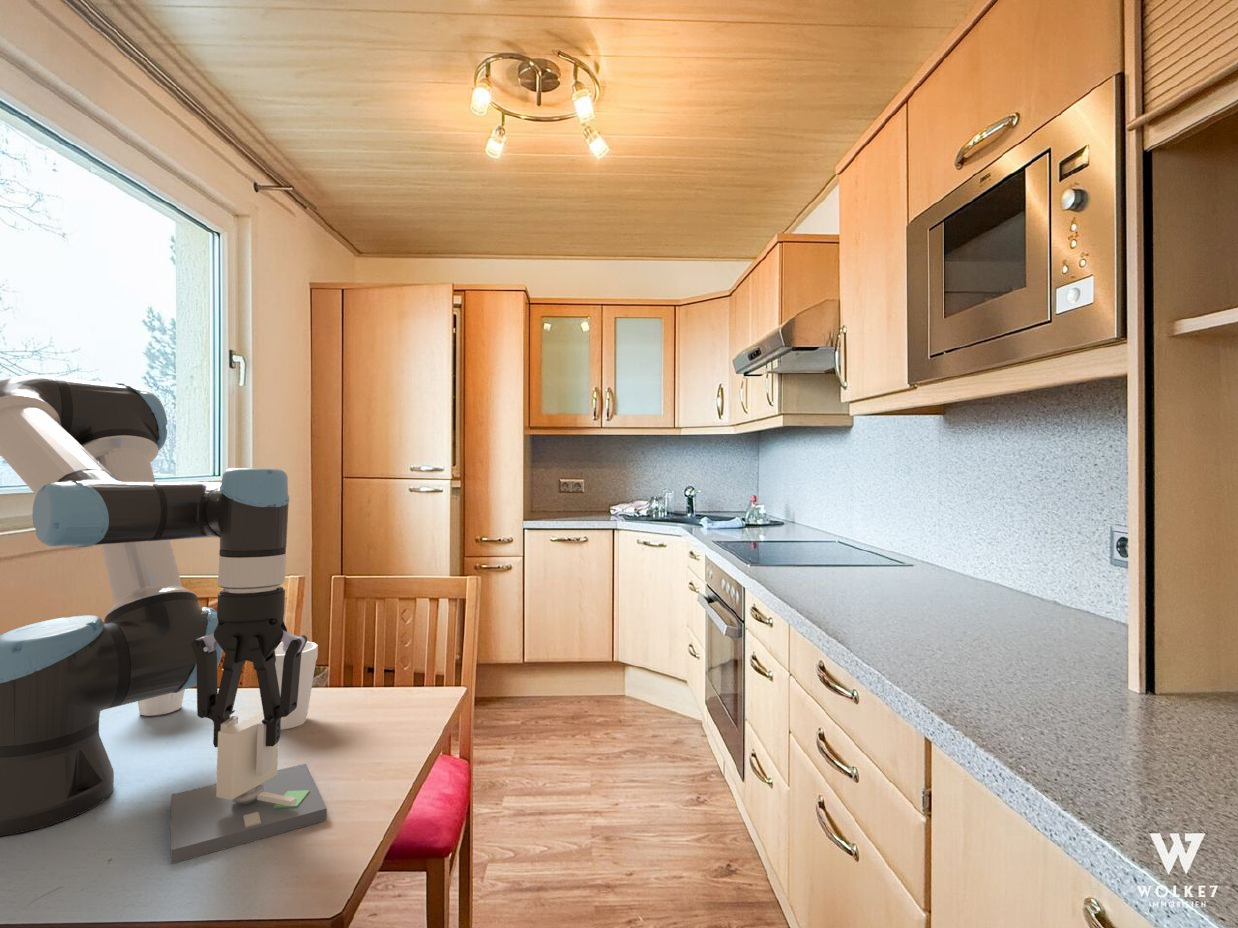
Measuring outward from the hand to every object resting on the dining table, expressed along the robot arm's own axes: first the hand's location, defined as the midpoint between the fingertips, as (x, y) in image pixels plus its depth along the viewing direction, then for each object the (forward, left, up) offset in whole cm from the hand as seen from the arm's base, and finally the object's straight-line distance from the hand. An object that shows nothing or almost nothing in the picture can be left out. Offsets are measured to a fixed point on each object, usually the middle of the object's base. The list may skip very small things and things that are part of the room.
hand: (246, 770), depth 81 cm
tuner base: (0, 0, -6) cm, 6 cm away
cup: (-9, +49, -6) cm, 50 cm away
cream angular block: (+2, -2, -4) cm, 5 cm away
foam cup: (+9, +31, -6) cm, 32 cm away
